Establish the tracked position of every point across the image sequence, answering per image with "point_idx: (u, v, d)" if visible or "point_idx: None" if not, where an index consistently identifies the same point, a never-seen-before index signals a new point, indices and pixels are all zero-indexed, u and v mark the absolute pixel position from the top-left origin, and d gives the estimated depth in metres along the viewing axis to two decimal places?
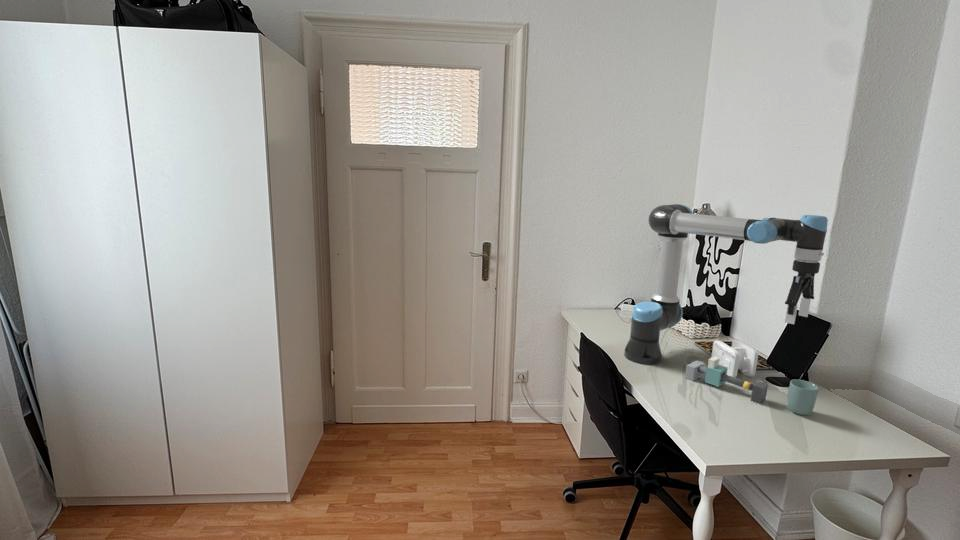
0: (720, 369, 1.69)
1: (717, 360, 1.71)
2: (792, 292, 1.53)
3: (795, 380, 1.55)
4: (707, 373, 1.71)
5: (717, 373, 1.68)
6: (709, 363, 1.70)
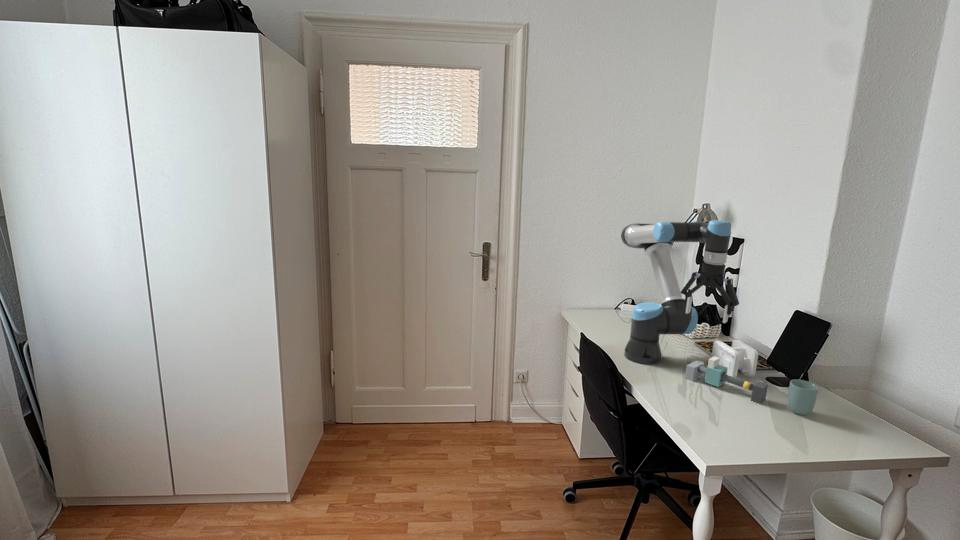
0: (720, 369, 1.69)
1: (717, 360, 1.71)
2: None
3: (795, 380, 1.55)
4: (707, 373, 1.71)
5: (717, 373, 1.68)
6: (709, 363, 1.70)
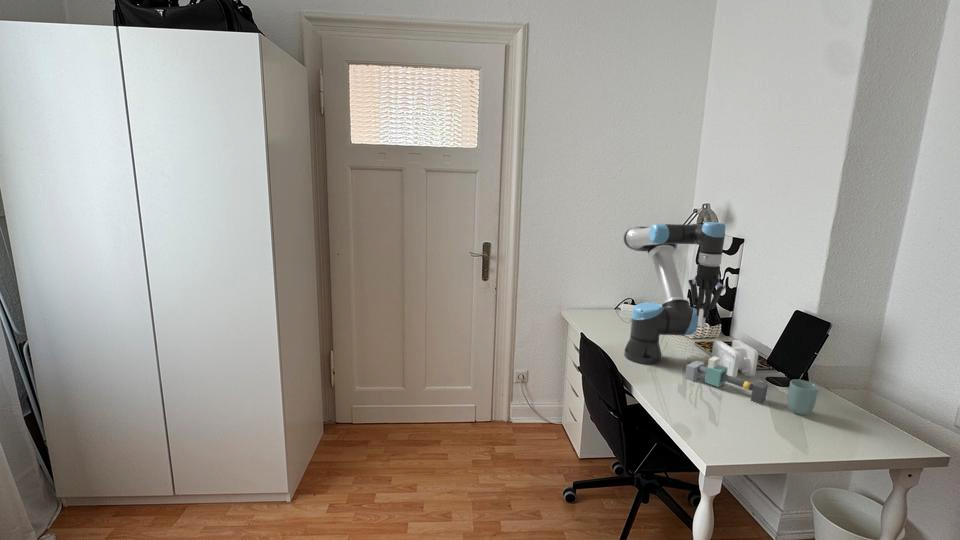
0: (720, 369, 1.69)
1: (717, 360, 1.71)
2: None
3: (795, 380, 1.55)
4: (707, 373, 1.71)
5: (717, 373, 1.68)
6: (709, 363, 1.70)
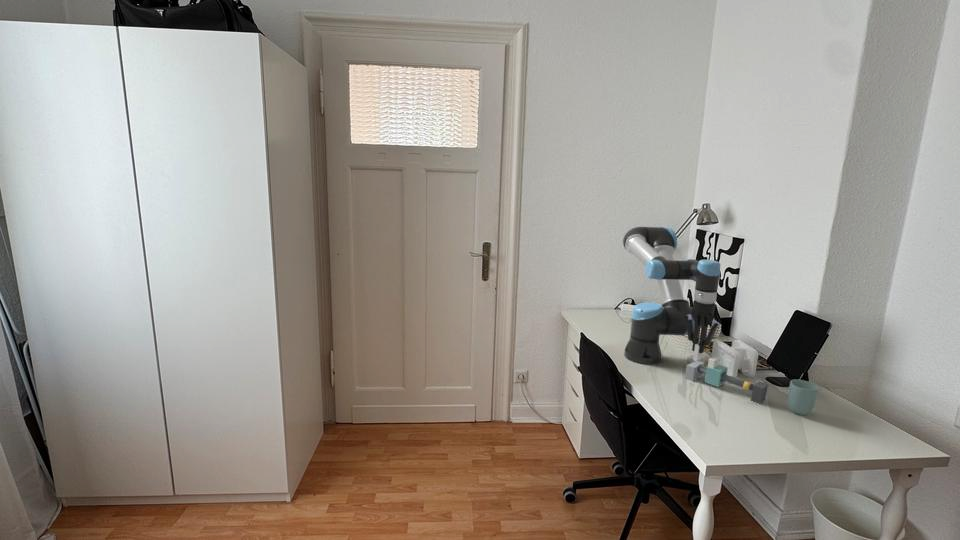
0: (720, 369, 1.69)
1: (717, 360, 1.71)
2: None
3: (795, 380, 1.55)
4: (707, 373, 1.71)
5: (717, 373, 1.68)
6: (709, 363, 1.70)
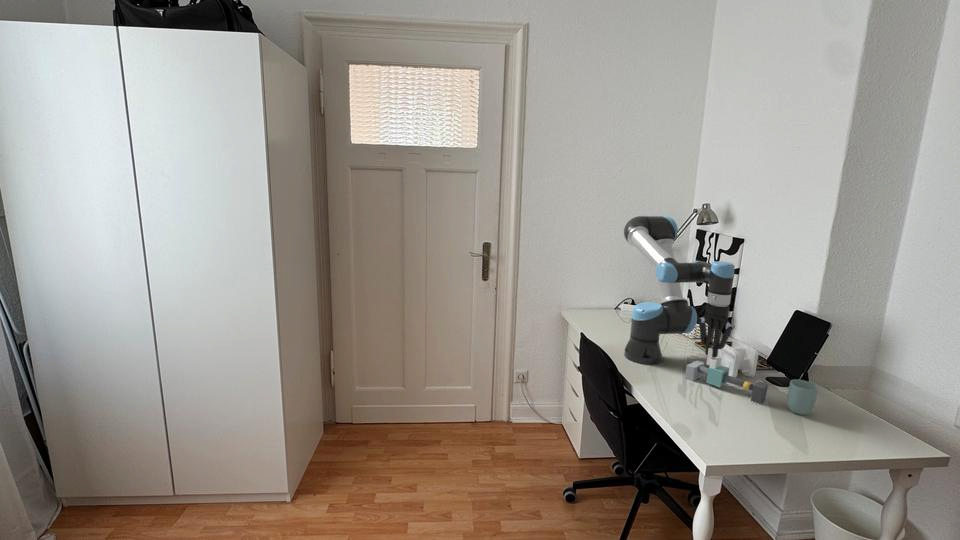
0: (722, 370, 1.68)
1: (719, 361, 1.70)
2: None
3: (795, 380, 1.55)
4: (709, 374, 1.70)
5: (719, 374, 1.67)
6: (711, 364, 1.70)
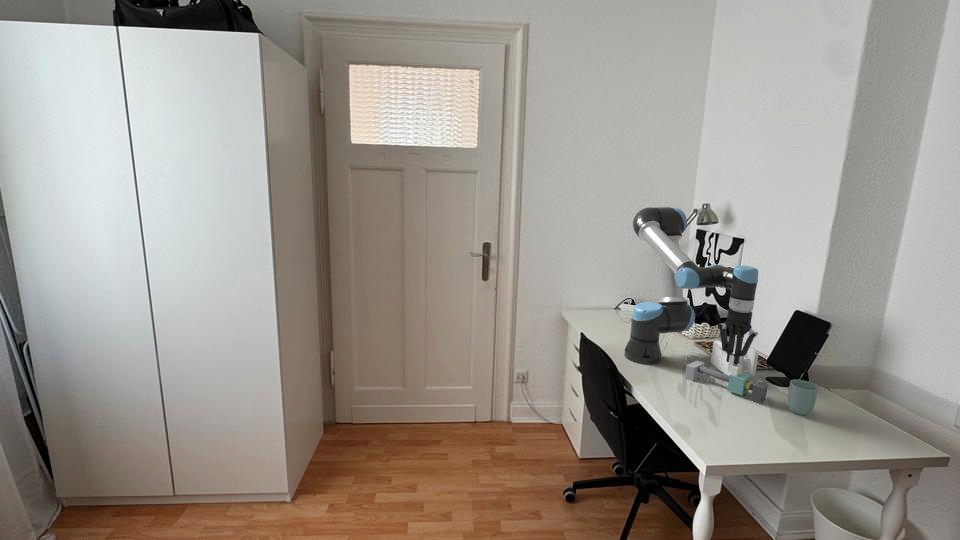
0: (744, 377, 1.62)
1: (740, 368, 1.64)
2: None
3: (795, 380, 1.55)
4: (730, 381, 1.64)
5: (741, 381, 1.61)
6: (732, 371, 1.64)
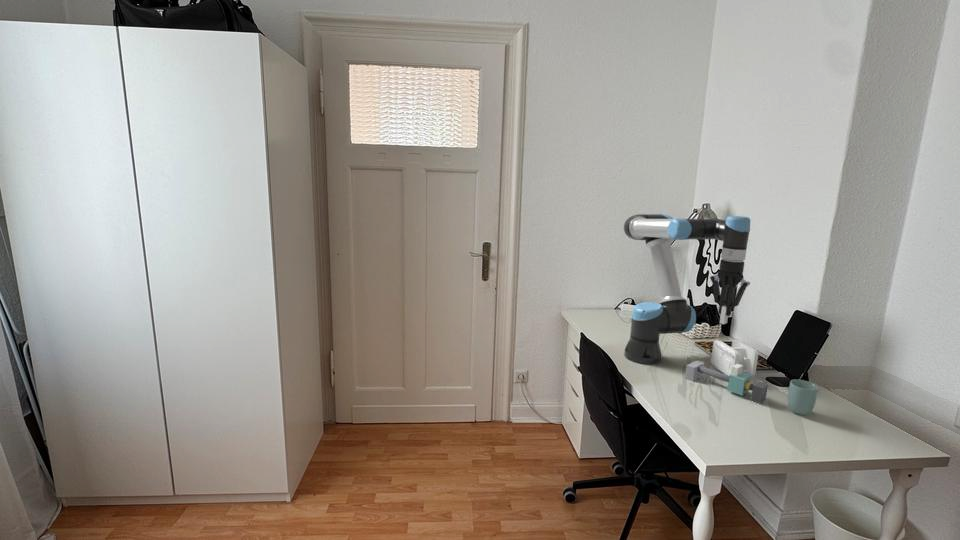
0: (744, 377, 1.62)
1: (740, 368, 1.64)
2: None
3: (795, 380, 1.55)
4: (730, 381, 1.64)
5: (741, 381, 1.61)
6: (732, 371, 1.64)
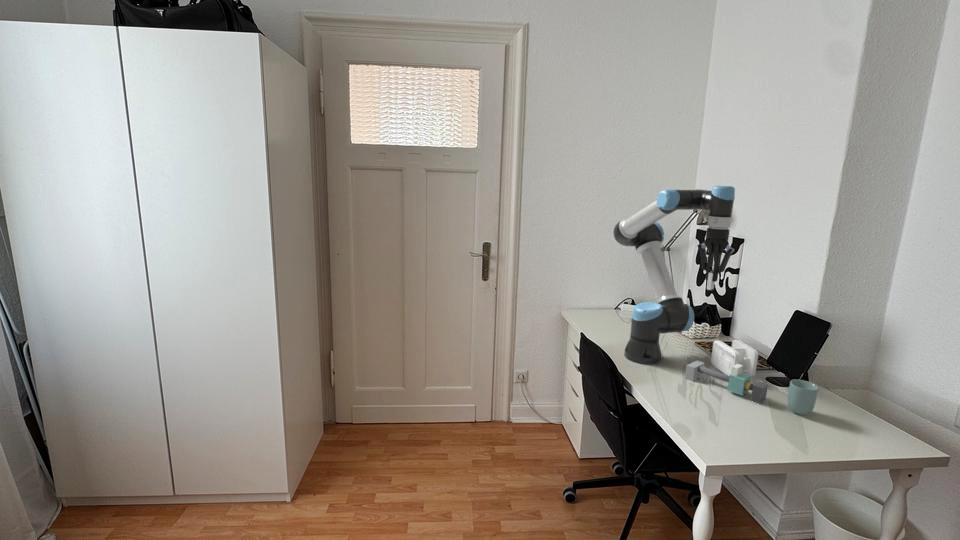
0: (744, 377, 1.62)
1: (740, 368, 1.64)
2: None
3: (795, 380, 1.55)
4: (730, 381, 1.64)
5: (741, 381, 1.61)
6: (732, 371, 1.64)
